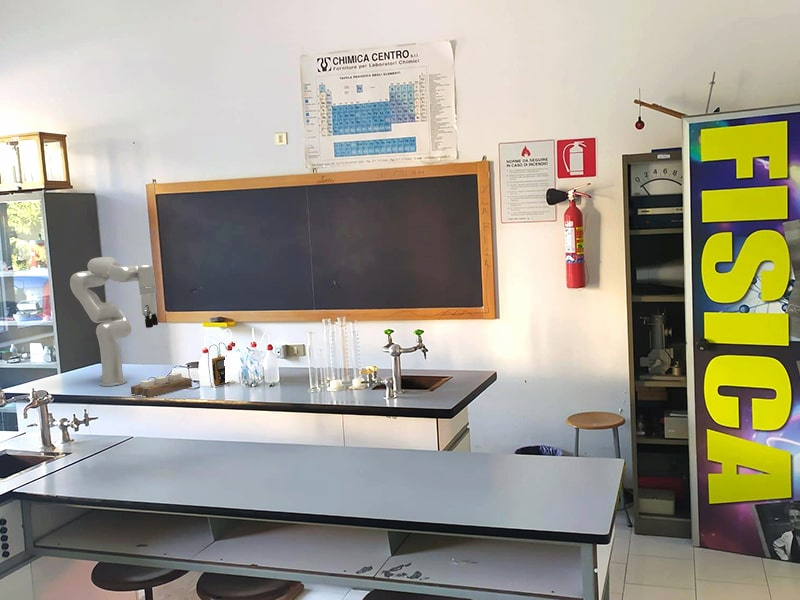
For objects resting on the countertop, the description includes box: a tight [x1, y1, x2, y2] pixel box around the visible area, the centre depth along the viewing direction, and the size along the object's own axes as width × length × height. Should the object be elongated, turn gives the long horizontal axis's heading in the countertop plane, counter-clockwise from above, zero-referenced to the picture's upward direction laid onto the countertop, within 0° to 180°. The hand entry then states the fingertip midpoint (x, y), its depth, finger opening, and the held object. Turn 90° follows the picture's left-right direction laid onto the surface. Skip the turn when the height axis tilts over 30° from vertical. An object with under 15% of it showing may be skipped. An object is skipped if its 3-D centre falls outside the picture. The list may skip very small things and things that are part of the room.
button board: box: [130, 376, 193, 398], centre depth 359 cm, size 14×24×4 cm, turn 145°
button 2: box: [167, 372, 183, 380], centre depth 366 cm, size 4×4×5 cm
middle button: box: [153, 375, 168, 384], centre depth 359 cm, size 4×4×5 cm
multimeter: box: [207, 342, 230, 388], centre depth 365 cm, size 15×10×20 cm
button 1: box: [139, 379, 154, 388], centre depth 353 cm, size 4×4×5 cm
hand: (152, 326), depth 363 cm, fingers open, 9 cm apart
